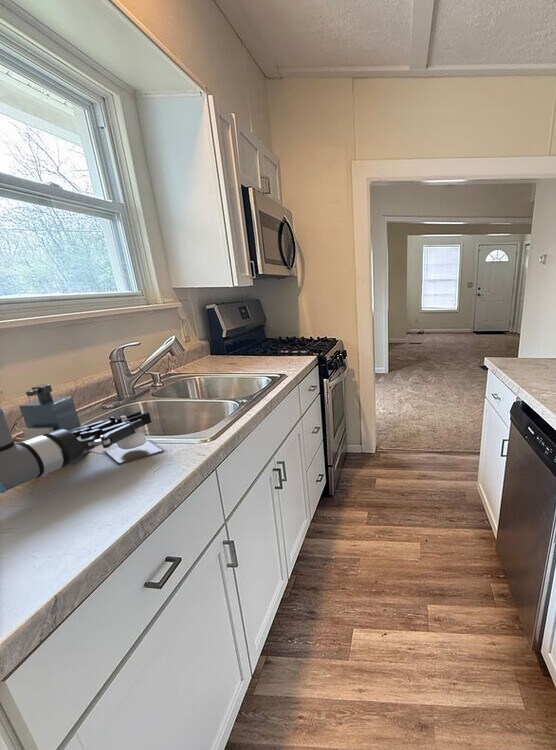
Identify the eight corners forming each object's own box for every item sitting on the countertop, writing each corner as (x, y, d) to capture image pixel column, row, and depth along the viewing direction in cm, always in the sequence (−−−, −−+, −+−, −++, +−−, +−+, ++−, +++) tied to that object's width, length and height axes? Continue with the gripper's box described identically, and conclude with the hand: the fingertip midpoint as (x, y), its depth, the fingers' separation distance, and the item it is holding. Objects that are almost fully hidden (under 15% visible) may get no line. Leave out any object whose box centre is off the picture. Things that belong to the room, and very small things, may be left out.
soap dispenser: (70, 466, 95) (44, 390, 88) (39, 467, 95) (10, 390, 88) (89, 453, 102) (67, 381, 95) (61, 454, 102) (36, 382, 95)
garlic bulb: (142, 450, 99) (135, 419, 96) (114, 452, 97) (106, 421, 94) (150, 440, 104) (143, 411, 101) (123, 442, 103) (116, 412, 100)
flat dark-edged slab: (105, 454, 102) (104, 450, 101) (147, 443, 109) (146, 439, 108) (119, 466, 95) (118, 462, 95) (163, 454, 102) (163, 450, 101)
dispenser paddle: (58, 454, 92) (49, 428, 90) (31, 455, 92) (21, 429, 90) (61, 452, 93) (52, 426, 91) (34, 453, 93) (25, 427, 91)
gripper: (32, 463, 86) (126, 427, 107) (84, 472, 82) (171, 433, 103) (19, 431, 83) (118, 400, 104) (72, 438, 79) (165, 405, 100)
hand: (144, 416), depth 103 cm, fingers closed on garlic bulb, 2 cm apart
